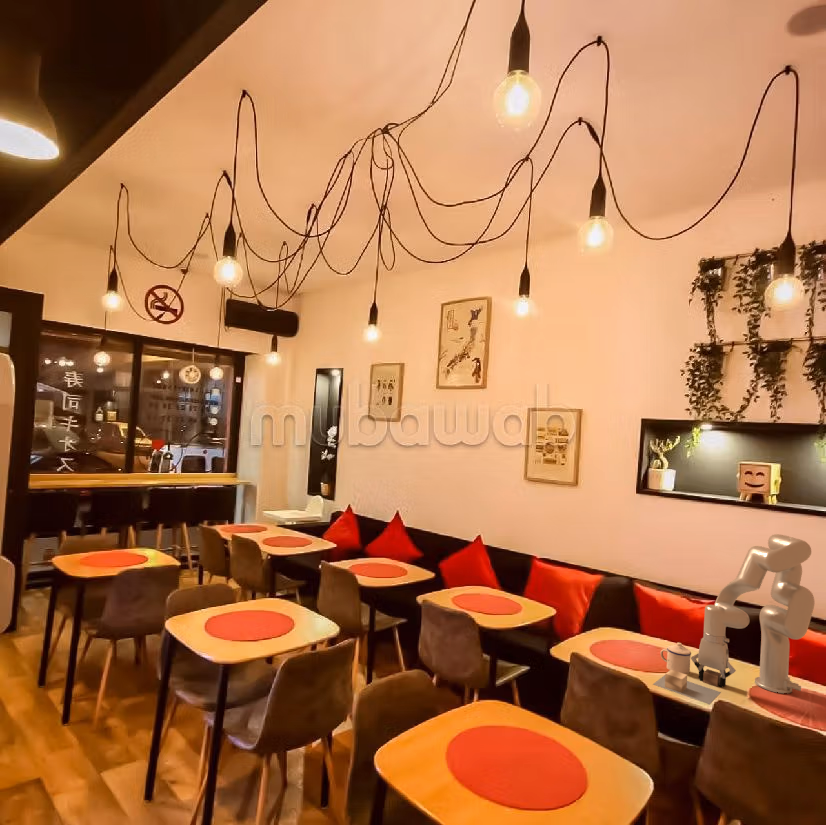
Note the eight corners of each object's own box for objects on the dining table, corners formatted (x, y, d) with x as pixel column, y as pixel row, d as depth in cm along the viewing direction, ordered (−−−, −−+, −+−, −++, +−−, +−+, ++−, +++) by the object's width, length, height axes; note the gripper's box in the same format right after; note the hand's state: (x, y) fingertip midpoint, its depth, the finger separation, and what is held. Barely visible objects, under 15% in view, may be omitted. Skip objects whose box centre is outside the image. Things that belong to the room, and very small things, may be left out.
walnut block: (720, 686, 221) (721, 673, 221) (716, 689, 217) (717, 676, 217) (706, 681, 224) (707, 669, 224) (702, 685, 221) (703, 672, 221)
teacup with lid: (693, 673, 232) (695, 644, 232) (684, 678, 226) (686, 649, 226) (664, 662, 241) (666, 635, 241) (655, 667, 235) (656, 639, 235)
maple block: (686, 688, 214) (687, 674, 214) (681, 692, 210) (682, 679, 210) (670, 682, 218) (670, 669, 218) (664, 686, 214) (665, 673, 214)
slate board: (721, 694, 213) (721, 692, 213) (709, 707, 202) (709, 704, 202) (666, 676, 226) (666, 673, 226) (652, 686, 215) (652, 684, 215)
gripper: (741, 642, 218) (739, 689, 217) (693, 629, 230) (691, 673, 229) (736, 647, 213) (733, 695, 212) (687, 633, 225) (685, 678, 224)
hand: (711, 683), depth 221 cm, fingers open, 6 cm apart
